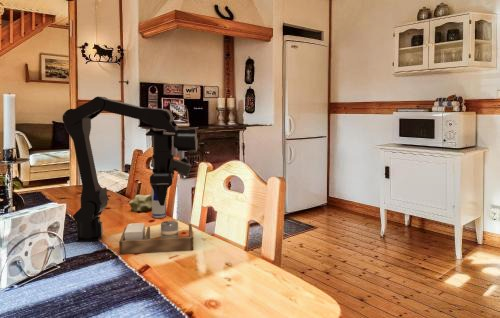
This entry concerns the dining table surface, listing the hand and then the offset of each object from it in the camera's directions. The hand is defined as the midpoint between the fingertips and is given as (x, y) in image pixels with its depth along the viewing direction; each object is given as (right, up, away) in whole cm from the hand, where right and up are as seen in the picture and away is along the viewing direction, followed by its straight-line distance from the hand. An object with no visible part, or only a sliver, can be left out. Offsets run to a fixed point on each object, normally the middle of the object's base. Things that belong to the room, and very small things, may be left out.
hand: (163, 202), depth 123 cm
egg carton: (-7, -12, -5) cm, 15 cm away
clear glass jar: (+3, -12, -3) cm, 12 cm away
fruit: (-16, -7, +36) cm, 40 cm away
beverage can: (-7, -8, +26) cm, 28 cm away
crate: (-1, -12, -4) cm, 13 cm away
